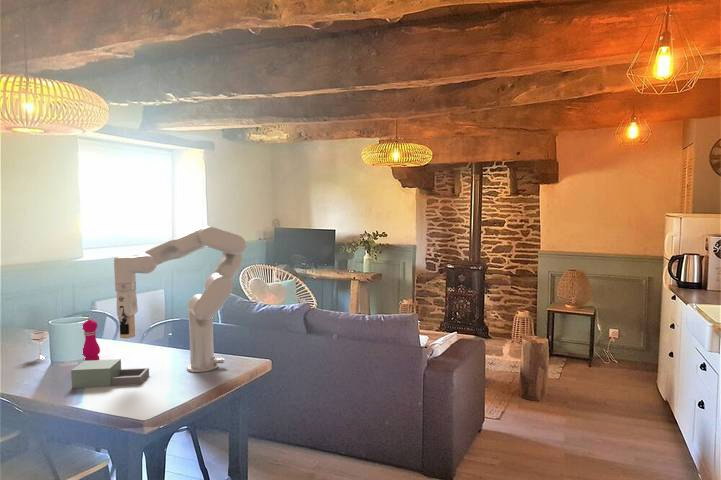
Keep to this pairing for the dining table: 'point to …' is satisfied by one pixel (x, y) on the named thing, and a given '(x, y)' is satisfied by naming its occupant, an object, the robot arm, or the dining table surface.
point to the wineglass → (39, 340)
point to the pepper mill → (90, 340)
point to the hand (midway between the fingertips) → (127, 331)
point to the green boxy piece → (106, 374)
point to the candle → (131, 328)
